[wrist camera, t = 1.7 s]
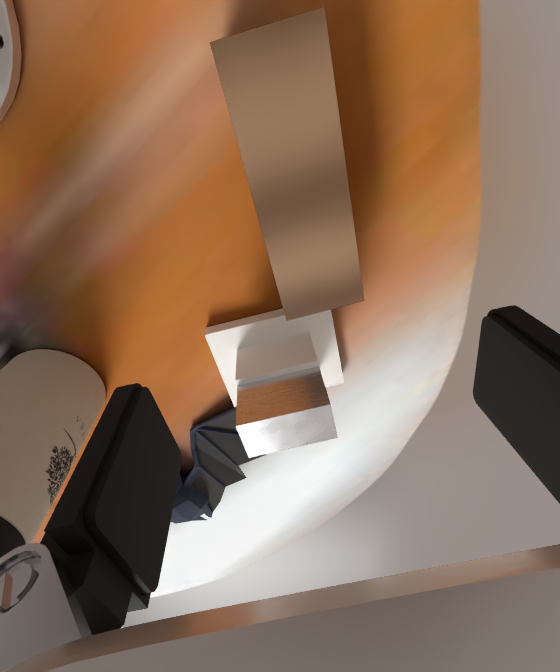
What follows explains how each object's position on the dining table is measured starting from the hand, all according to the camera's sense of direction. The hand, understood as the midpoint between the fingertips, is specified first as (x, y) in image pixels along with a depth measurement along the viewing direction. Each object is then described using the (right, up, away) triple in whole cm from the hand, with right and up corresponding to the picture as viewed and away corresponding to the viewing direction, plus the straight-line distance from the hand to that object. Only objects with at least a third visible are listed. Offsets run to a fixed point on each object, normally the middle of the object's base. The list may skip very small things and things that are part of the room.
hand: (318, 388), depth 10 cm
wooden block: (0, +12, +14) cm, 18 cm away
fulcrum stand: (-1, 0, +20) cm, 20 cm away
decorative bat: (-12, -14, +28) cm, 33 cm away
